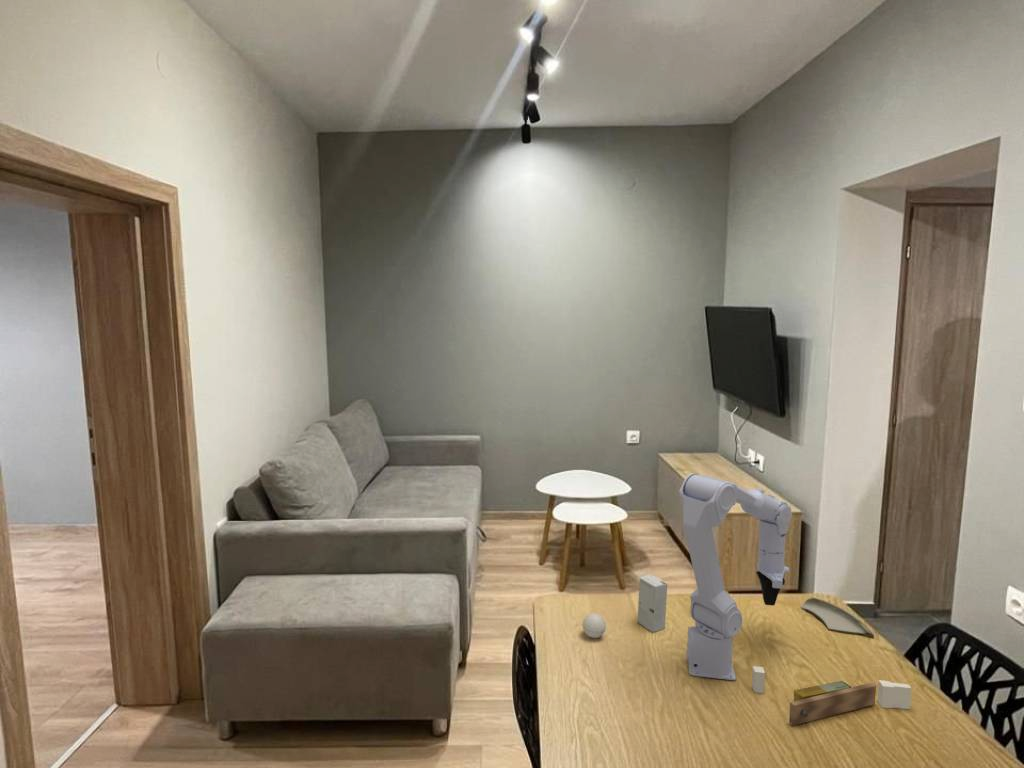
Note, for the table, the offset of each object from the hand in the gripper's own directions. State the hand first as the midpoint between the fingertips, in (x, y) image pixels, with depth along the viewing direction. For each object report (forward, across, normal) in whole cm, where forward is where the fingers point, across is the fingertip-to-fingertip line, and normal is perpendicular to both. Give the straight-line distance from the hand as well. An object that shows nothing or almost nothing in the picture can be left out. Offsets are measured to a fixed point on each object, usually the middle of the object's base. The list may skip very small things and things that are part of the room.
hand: (769, 603), depth 138 cm
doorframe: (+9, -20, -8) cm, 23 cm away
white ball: (+10, -6, +42) cm, 44 cm away
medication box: (+10, -23, -5) cm, 26 cm away
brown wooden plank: (+9, -25, -7) cm, 28 cm away
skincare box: (+10, +2, +27) cm, 29 cm away
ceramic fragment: (+10, +13, -19) cm, 25 cm away
